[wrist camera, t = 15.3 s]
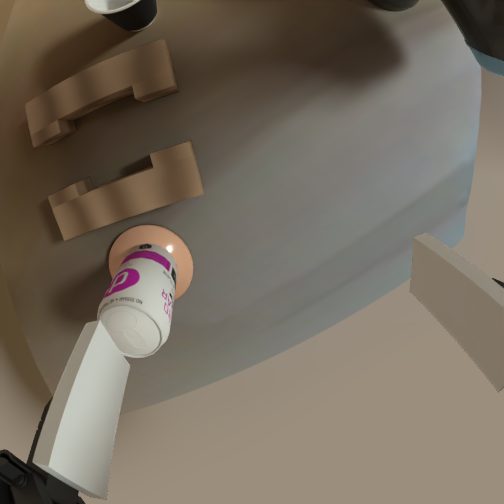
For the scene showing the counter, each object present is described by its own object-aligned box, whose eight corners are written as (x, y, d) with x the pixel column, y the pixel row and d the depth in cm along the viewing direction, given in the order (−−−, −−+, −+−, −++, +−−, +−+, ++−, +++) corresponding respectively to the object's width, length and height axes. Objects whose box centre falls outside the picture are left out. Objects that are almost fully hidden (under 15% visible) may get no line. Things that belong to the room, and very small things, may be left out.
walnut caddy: (168, 49, 28) (163, 38, 24) (203, 186, 37) (203, 194, 32) (42, 105, 27) (24, 104, 23) (78, 228, 36) (64, 240, 32)
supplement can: (114, 257, 38) (78, 318, 24) (159, 231, 38) (137, 287, 24) (144, 299, 41) (125, 369, 28) (188, 277, 41) (183, 346, 28)
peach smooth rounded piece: (177, 212, 38) (176, 214, 37) (204, 290, 43) (204, 293, 43) (97, 238, 37) (95, 240, 36) (130, 309, 43) (129, 312, 42)
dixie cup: (101, 31, 25) (70, 5, 15) (135, -10, 23) (116, -46, 13) (143, 48, 28) (122, 21, 18) (178, 6, 26) (171, -32, 16)
